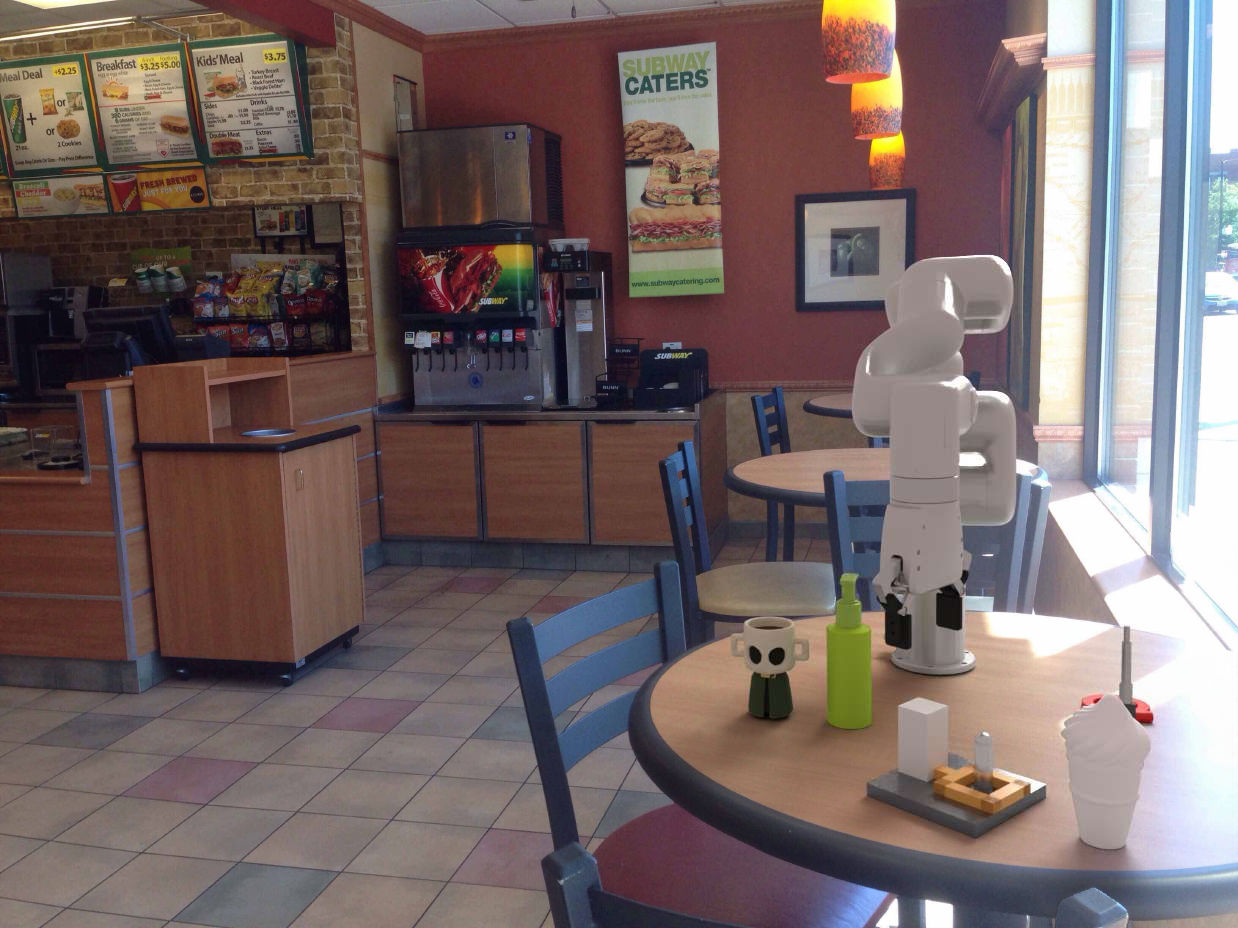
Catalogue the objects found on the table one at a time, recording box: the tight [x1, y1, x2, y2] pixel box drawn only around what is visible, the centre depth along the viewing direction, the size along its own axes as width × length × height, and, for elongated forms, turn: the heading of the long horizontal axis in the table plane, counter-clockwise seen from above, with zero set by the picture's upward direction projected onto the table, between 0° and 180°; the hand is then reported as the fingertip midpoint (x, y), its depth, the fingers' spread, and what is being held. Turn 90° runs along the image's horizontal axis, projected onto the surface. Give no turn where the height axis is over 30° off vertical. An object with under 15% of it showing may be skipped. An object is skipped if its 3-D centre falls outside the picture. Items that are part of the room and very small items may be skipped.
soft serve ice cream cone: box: [1060, 691, 1152, 850], centre depth 108 cm, size 8×8×16 cm
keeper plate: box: [866, 731, 1047, 839], centre depth 120 cm, size 14×14×8 cm
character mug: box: [730, 616, 810, 719], centre depth 147 cm, size 11×7×13 cm, turn 72°
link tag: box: [897, 696, 1031, 814], centre depth 119 cm, size 13×7×8 cm, turn 39°
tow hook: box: [1081, 625, 1154, 723], centre depth 144 cm, size 8×13×9 cm
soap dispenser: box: [825, 572, 873, 730], centre depth 143 cm, size 6×7×20 cm
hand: (924, 637), depth 121 cm, fingers open, 9 cm apart
